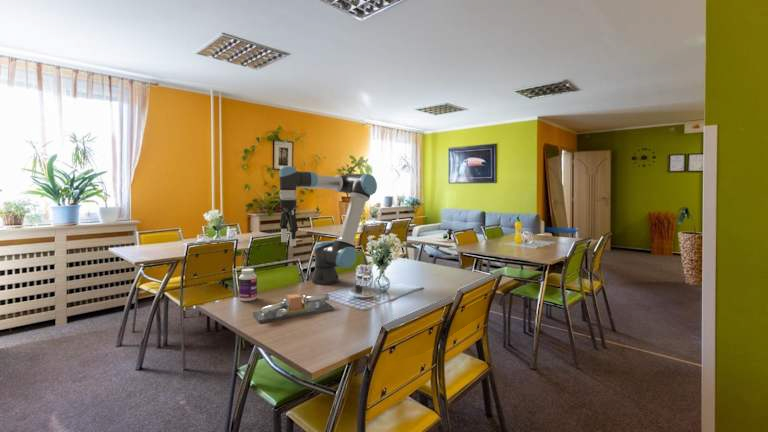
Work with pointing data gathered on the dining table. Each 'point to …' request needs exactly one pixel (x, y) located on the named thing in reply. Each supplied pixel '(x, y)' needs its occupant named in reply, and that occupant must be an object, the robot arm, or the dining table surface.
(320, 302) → the shaft
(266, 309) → the shaft
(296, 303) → the block
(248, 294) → the pill bottle
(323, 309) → the board
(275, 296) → the dining table surface
